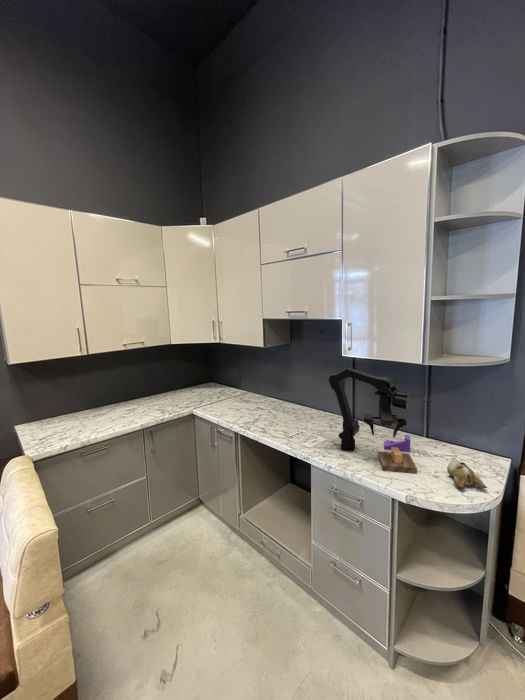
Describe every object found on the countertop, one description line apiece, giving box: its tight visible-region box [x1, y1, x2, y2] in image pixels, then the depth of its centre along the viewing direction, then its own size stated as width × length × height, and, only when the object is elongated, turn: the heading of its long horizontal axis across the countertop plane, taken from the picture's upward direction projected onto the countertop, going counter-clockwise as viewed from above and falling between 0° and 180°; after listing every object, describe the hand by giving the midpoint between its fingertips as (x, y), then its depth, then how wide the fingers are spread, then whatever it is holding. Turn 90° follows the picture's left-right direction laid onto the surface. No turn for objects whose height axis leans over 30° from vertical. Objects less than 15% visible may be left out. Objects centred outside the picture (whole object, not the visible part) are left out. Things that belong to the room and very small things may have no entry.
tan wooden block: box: [390, 447, 402, 464], centre depth 141 cm, size 3×8×6 cm, turn 168°
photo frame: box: [284, 430, 328, 449], centre depth 171 cm, size 15×1×18 cm
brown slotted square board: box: [377, 451, 418, 474], centre depth 141 cm, size 14×14×2 cm
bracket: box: [383, 434, 411, 453], centre depth 158 cm, size 12×7×7 cm, turn 69°
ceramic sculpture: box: [446, 457, 488, 489], centre depth 125 cm, size 11×9×15 cm
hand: (383, 436), depth 145 cm, fingers open, 9 cm apart
